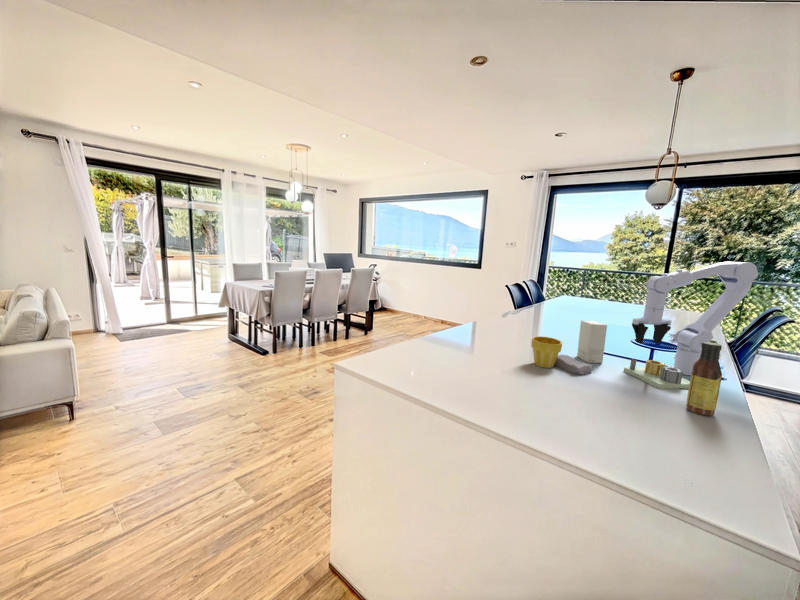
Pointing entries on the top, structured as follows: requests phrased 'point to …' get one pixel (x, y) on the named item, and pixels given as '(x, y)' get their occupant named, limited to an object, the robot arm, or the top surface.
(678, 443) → the top surface
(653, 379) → the gear board
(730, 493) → the top surface
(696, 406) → the sauce bottle
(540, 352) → the plant pot
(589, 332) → the skincare box
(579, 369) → the stone block
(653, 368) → the brass gear
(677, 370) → the steel gear
